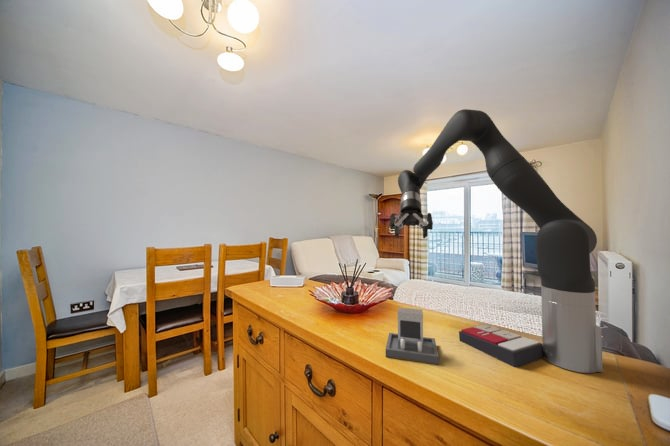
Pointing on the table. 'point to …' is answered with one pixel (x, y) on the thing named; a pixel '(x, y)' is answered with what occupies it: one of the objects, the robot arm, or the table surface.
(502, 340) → the red and grey box
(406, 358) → the tray
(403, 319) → the drive
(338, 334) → the table surface
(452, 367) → the table surface
